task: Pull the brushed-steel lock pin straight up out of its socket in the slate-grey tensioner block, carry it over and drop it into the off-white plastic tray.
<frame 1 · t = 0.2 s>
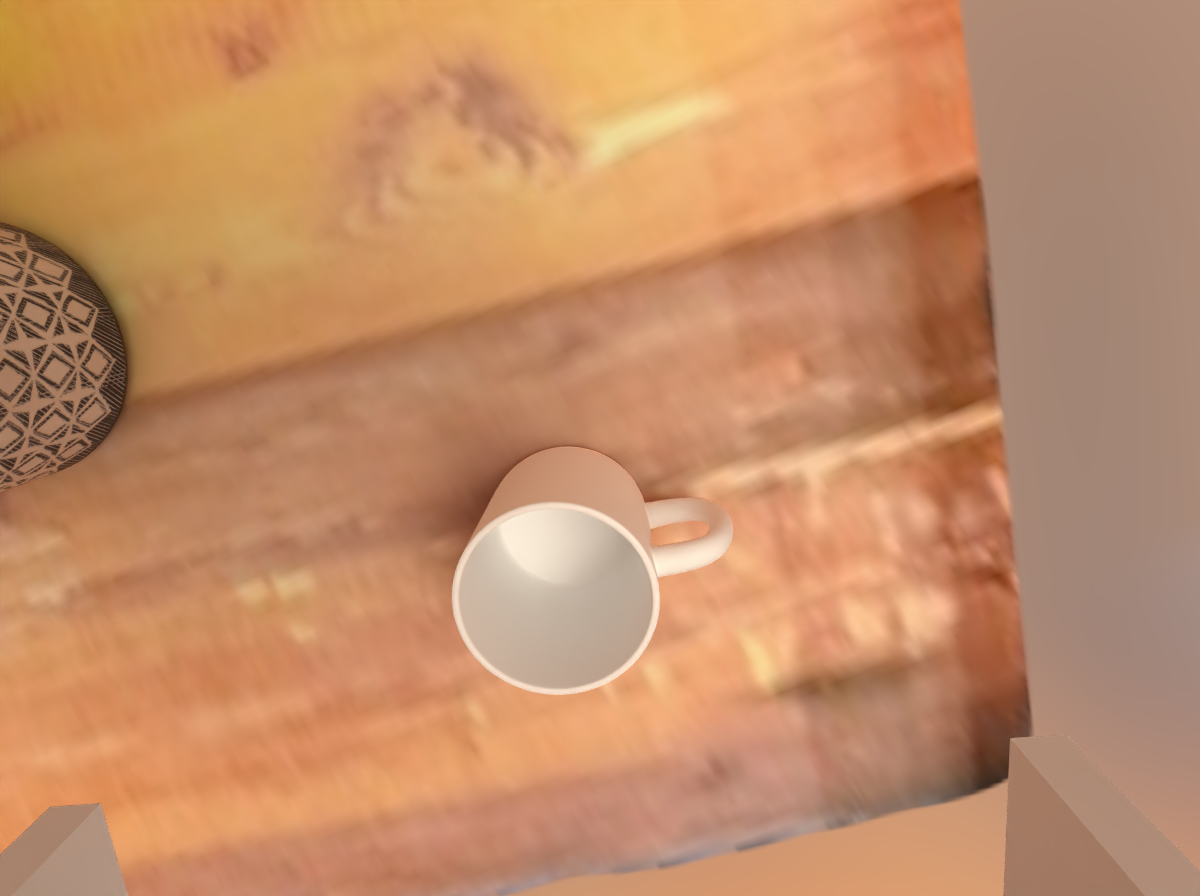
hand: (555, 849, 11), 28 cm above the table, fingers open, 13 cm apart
cup: (603, 510, 39), on the table
planter: (20, 350, 37), on the table
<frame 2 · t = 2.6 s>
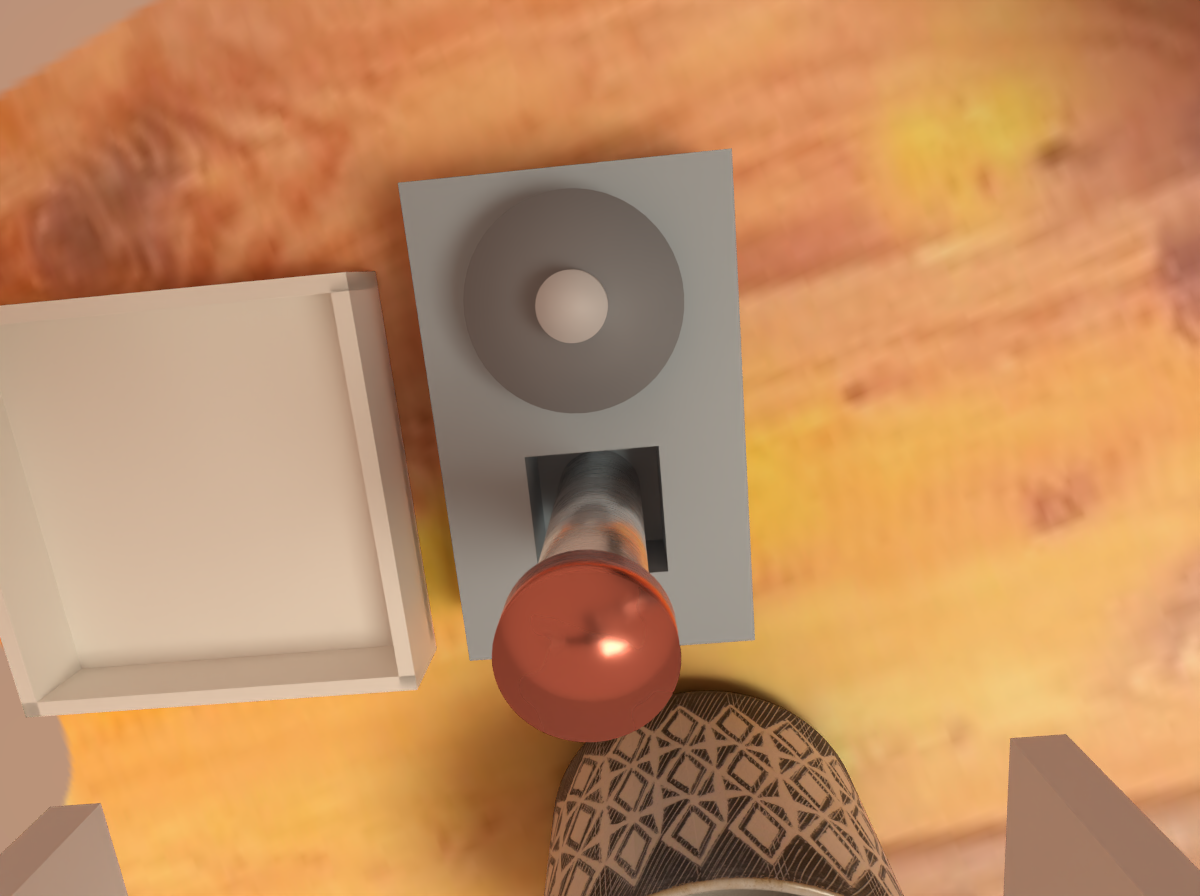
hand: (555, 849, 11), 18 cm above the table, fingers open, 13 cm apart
tensioner block: (593, 404, 27), on the table
tray: (217, 488, 29), on the table
planter: (700, 801, 32), on the table
lock pin: (599, 488, 27), point 1 cm above the table, touching tensioner block
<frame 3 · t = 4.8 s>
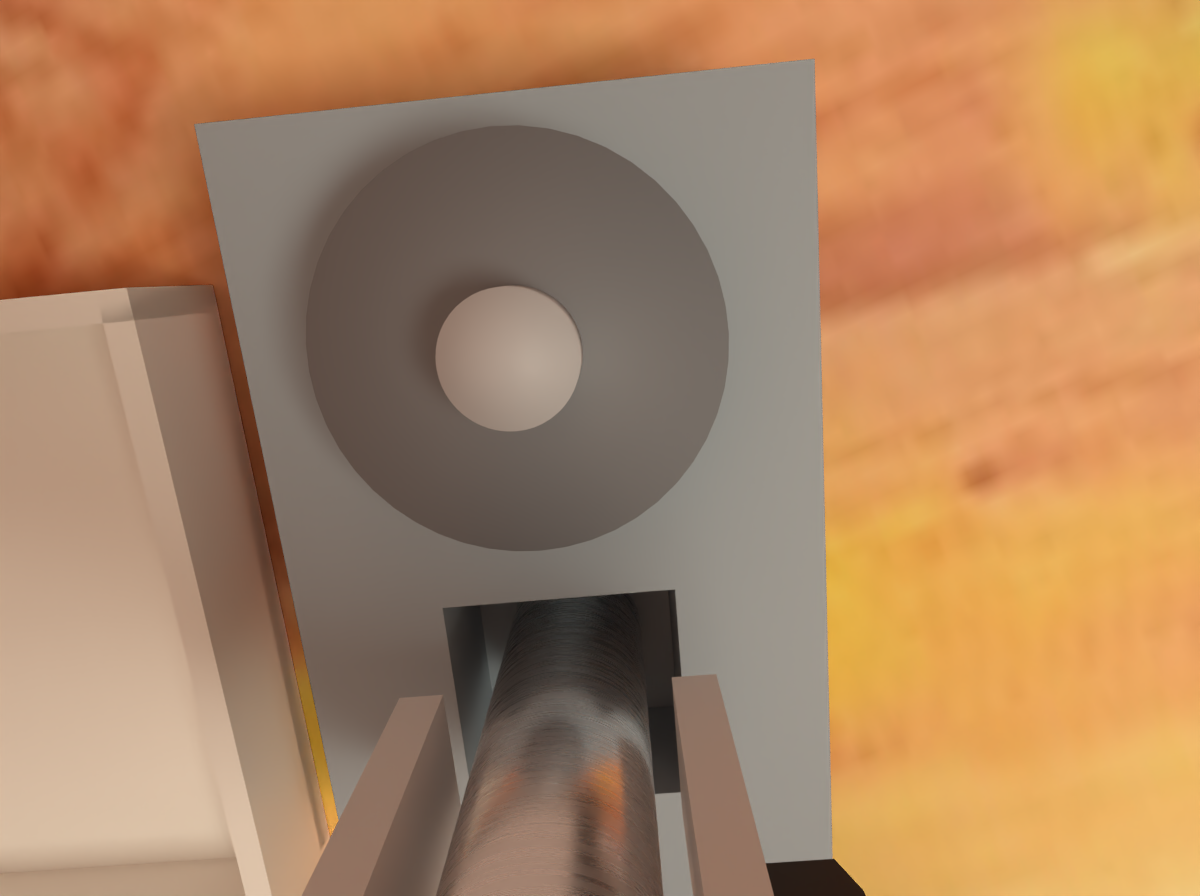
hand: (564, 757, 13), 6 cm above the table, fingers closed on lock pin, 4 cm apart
tensioner block: (566, 494, 17), on the table
lock pin: (577, 629, 17), point 1 cm above the table, touching gripper, tensioner block
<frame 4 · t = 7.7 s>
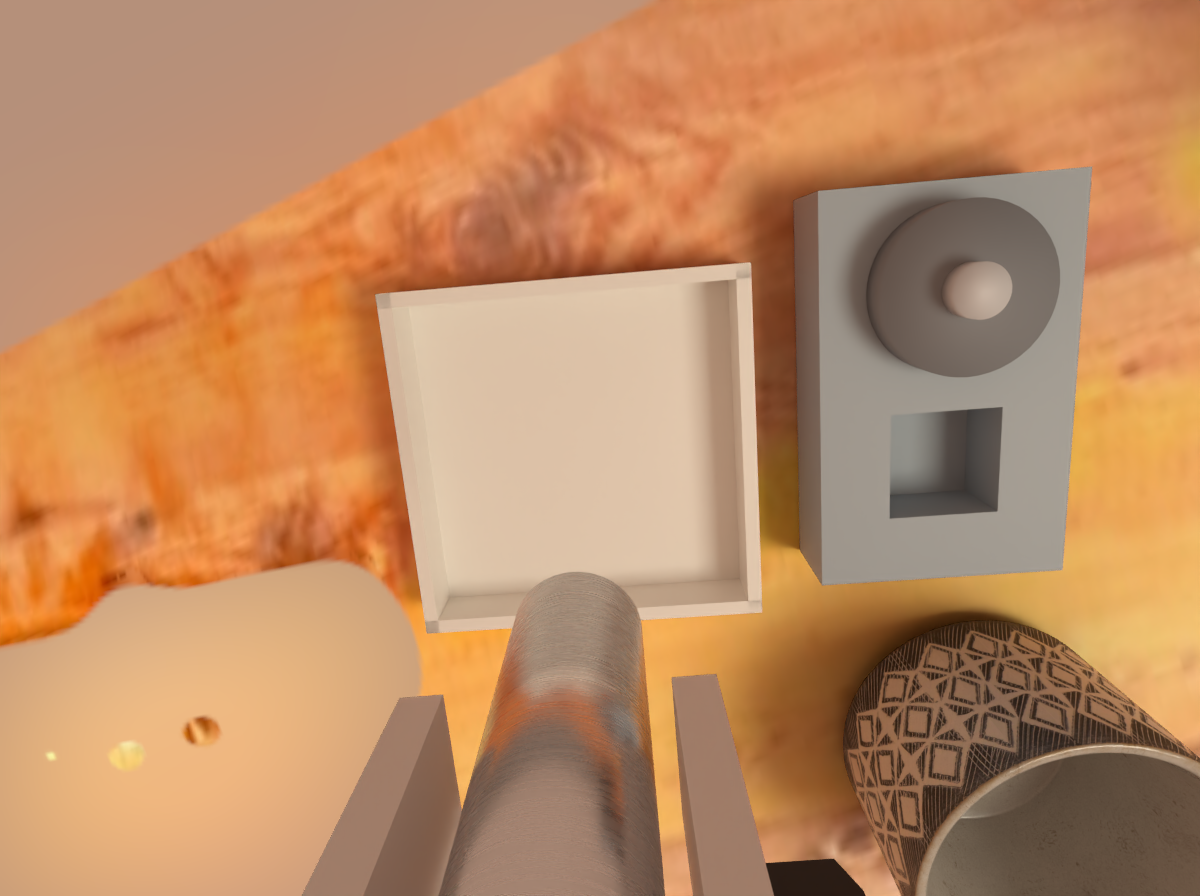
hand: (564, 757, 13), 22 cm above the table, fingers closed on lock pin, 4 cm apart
tensioner block: (908, 376, 33), on the table
tray: (581, 444, 34), on the table
planter: (959, 720, 37), on the table
lock pin: (577, 631, 17), point 17 cm above the table, touching gripper
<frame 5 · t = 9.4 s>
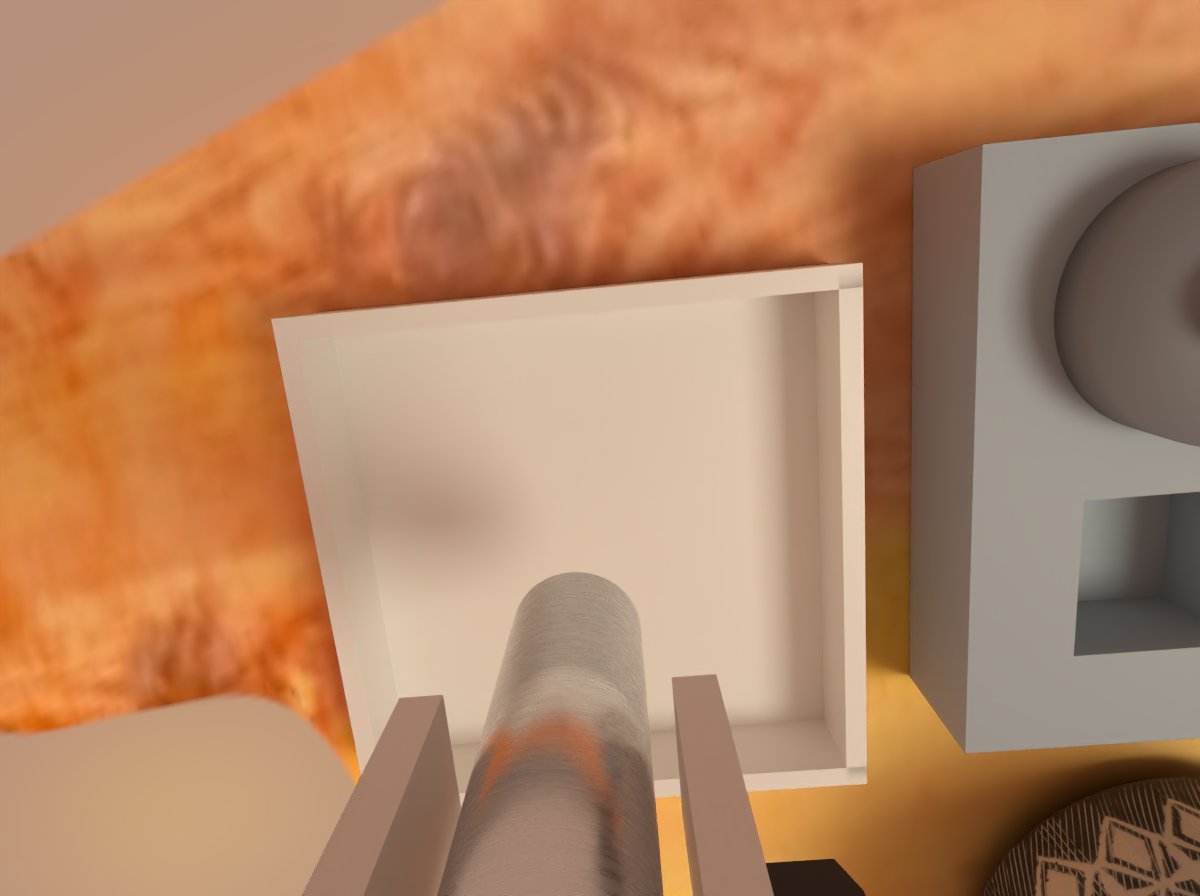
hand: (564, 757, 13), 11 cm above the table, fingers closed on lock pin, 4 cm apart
tensioner block: (1077, 429, 22), on the table
tray: (593, 530, 23), on the table
lock pin: (577, 631, 17), point 6 cm above the table, touching gripper
when the fingers open (7 cm above the table, at t = 10.7 s): lock pin drops 2 cm, resting on tray.
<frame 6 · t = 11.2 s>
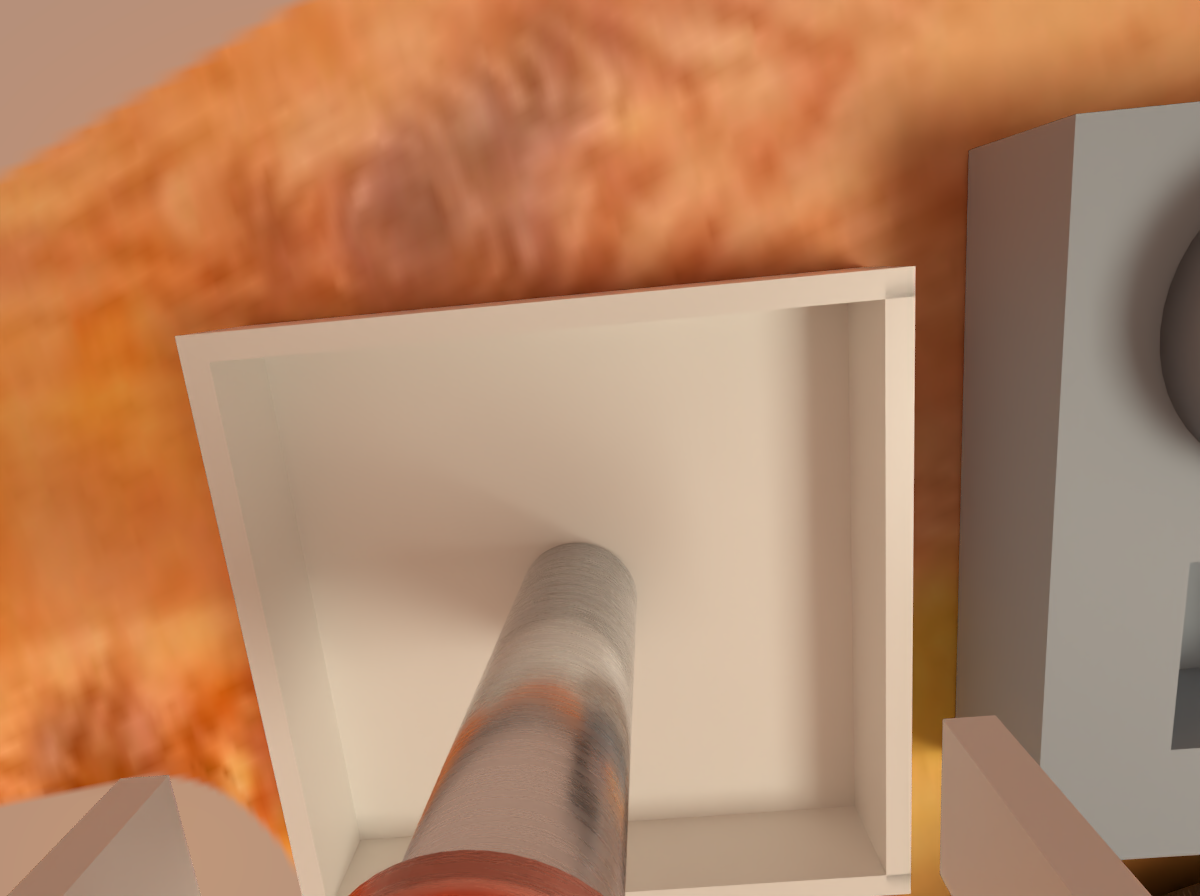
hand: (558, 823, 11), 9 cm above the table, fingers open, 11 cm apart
tensioner block: (1160, 465, 19), on the table
tray: (581, 585, 20), on the table
lock pin: (578, 597, 19), point 1 cm above the table, touching tray
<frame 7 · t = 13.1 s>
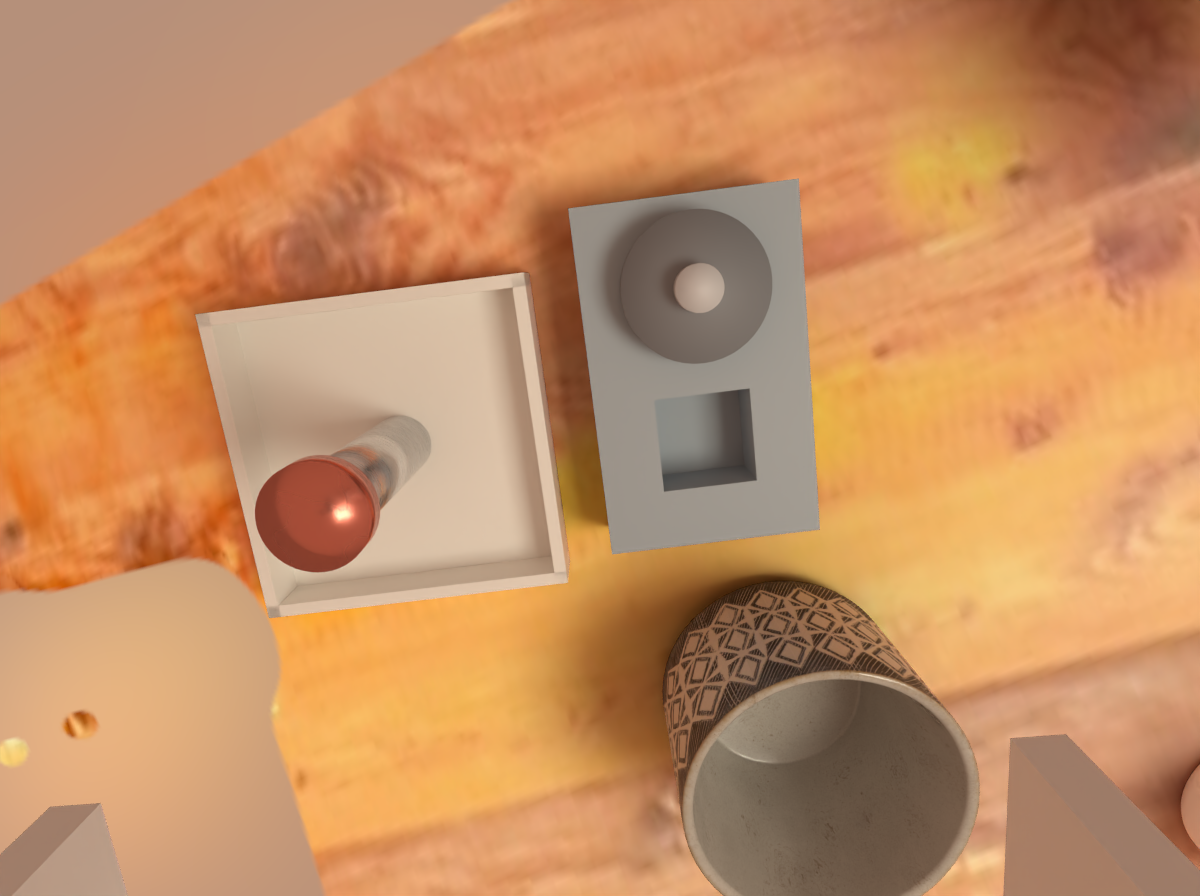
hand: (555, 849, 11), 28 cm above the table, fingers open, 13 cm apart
tensioner block: (689, 367, 37), on the table
tray: (405, 441, 38), on the table
planter: (771, 675, 41), on the table
lock pin: (402, 444, 37), point 1 cm above the table, touching tray
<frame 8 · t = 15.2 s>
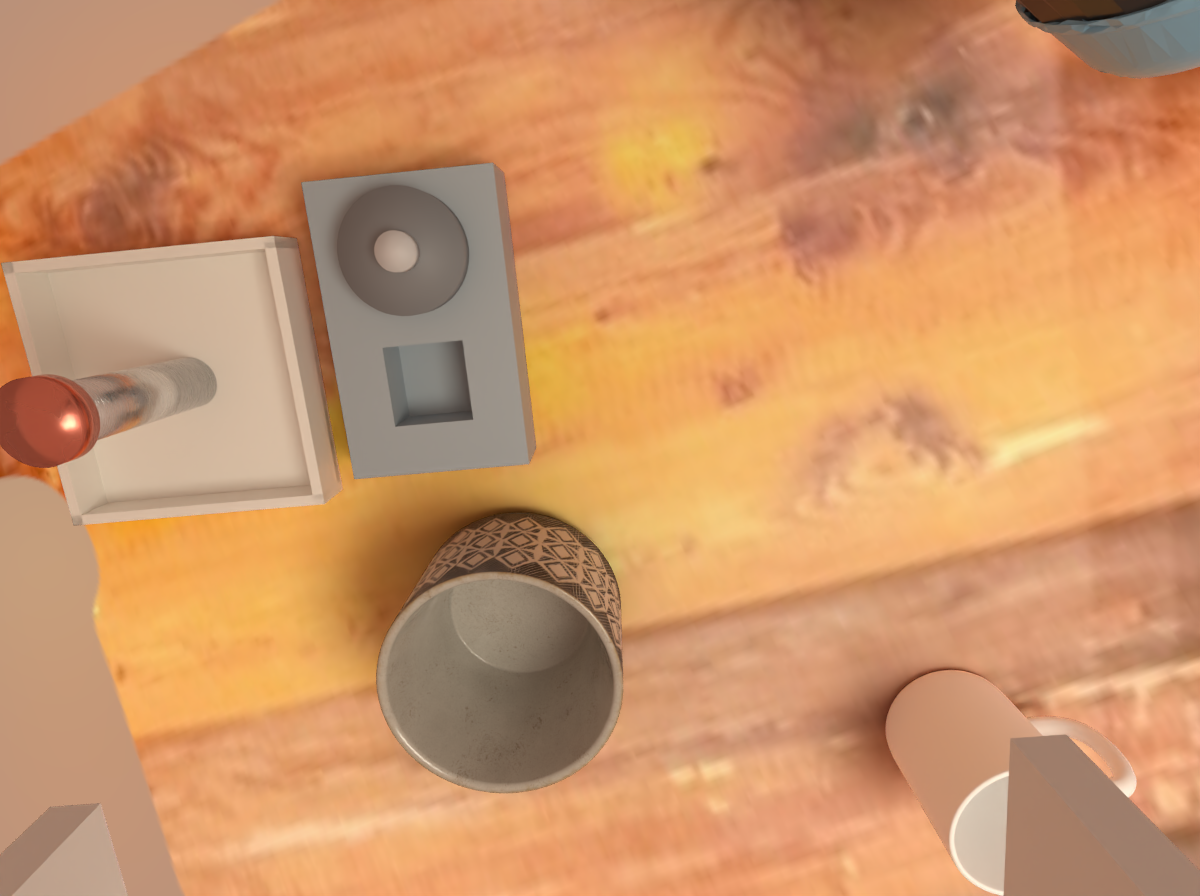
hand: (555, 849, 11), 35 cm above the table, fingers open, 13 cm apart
cup: (970, 713, 49), on the table
tensioner block: (437, 323, 43), on the table
tray: (197, 380, 44), on the table
planter: (523, 597, 48), on the table
lock pin: (191, 382, 44), point 1 cm above the table, touching tray
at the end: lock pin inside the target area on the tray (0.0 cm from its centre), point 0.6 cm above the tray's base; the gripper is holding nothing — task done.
